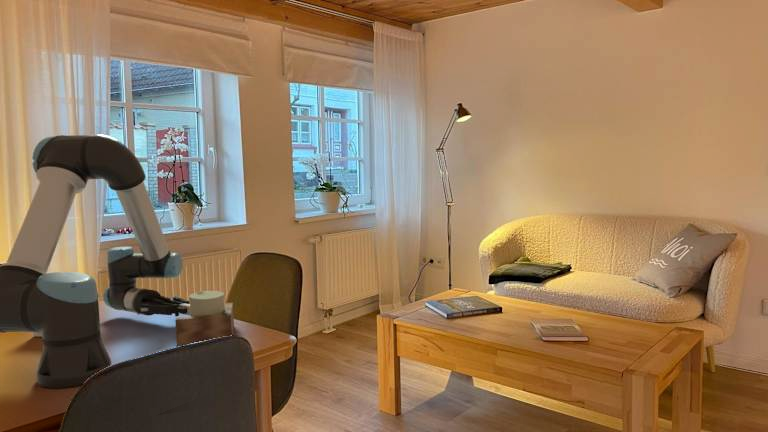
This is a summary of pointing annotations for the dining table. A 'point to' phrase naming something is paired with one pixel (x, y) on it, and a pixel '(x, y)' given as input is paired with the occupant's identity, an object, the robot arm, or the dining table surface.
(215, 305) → the can
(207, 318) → the v stop
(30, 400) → the dining table surface
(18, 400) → the dining table surface
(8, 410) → the dining table surface
